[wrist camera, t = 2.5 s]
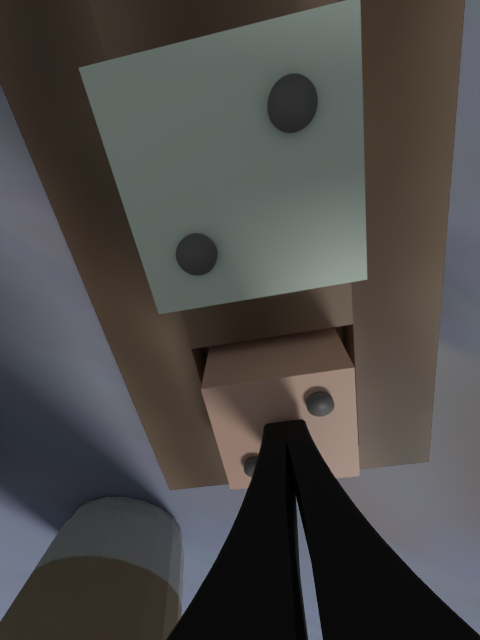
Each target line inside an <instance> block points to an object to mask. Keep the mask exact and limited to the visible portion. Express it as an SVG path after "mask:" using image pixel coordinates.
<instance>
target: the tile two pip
mask: <svg viewBox="0 0 480 640" xmlns="http://www.w3.org/2000/svg"><path fill="white" fill-rule="evenodd" d="M79 71H80V74H81V77H82V80H83V84H84V87H85V90H86V93H87V96H88V99H89V102H90V105H91V108H92V111H93V114H94V117H95V120H96V123H97V126H98V129H99V133H100V136H101V139H102V142H103V145H104V148H105V151H106V154H107V157H108V160H109V163H110V166H111V169H112V172H113V175H114V178H115V182H116V185H117V188H118V191H119V194H120V197H121V200H122V203H123V206H124V209H125V212H126V215H127V218H128V221H129V224H130V227H131V231H132V234H133V237H134V240H135V243H136V246H137V249H138V252H139V255H140V258H141V261H142V264H143V267H144V270H145V273H146V276H147V280H148V283H149V286H150V289H151V292H152V295H153V298H154V301H155V304H156V307H157V310H158V313H159V314H164V313H170V312H176V311H182V310H188V309H194V308H200V307H206V306H212V305H218V304H224V303H230V302H236V301H242V300H248V299H254V298H260V297H266V296H272V295H278V294H284V293H290V292H296V291H302V290H308V289H314V288H320V287H326V286H332V285H338V284H344V283H350V282H356V281H362V280H367V244H366V204H365V164H364V124H363V84H362V44H361V4H360V0H345V1H341V2H337V3H333V4H329V5H325V6H321V7H317V8H313V9H309V10H305V11H301V12H297V13H293V14H289V15H285V16H282V17H278V18H274V19H270V20H266V21H262V22H258V23H254V24H250V25H246V26H242V27H238V28H234V29H230V30H226V31H222V32H218V33H214V34H210V35H206V36H202V37H198V38H194V39H190V40H186V41H183V42H179V43H175V44H171V45H167V46H163V47H159V48H155V49H151V50H147V51H143V52H139V53H135V54H131V55H127V56H123V57H119V58H115V59H111V60H107V61H103V62H99V63H95V64H91V65H87V66H84V67H80V68H79Z"/></svg>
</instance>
